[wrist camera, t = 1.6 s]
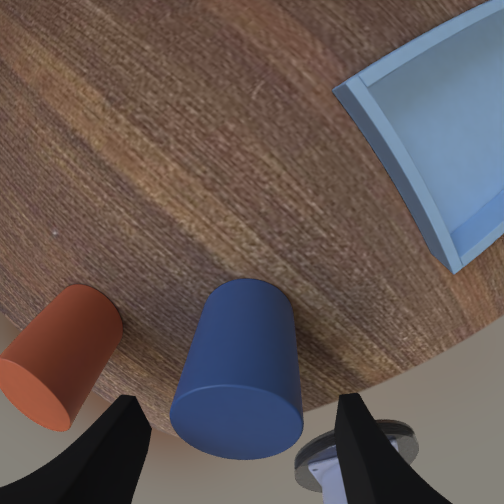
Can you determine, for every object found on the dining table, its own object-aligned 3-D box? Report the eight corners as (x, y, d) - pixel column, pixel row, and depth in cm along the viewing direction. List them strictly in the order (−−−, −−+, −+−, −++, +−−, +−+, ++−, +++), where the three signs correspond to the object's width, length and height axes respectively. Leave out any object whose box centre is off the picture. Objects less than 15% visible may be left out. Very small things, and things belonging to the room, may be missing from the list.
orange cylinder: (137, 340, 17) (89, 432, 11) (86, 354, 18) (37, 431, 11) (94, 273, 16) (19, 352, 9) (47, 296, 16) (-20, 364, 10)
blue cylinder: (305, 337, 16) (319, 447, 10) (227, 360, 17) (209, 465, 11) (273, 264, 15) (274, 369, 8) (187, 295, 16) (143, 399, 9)
